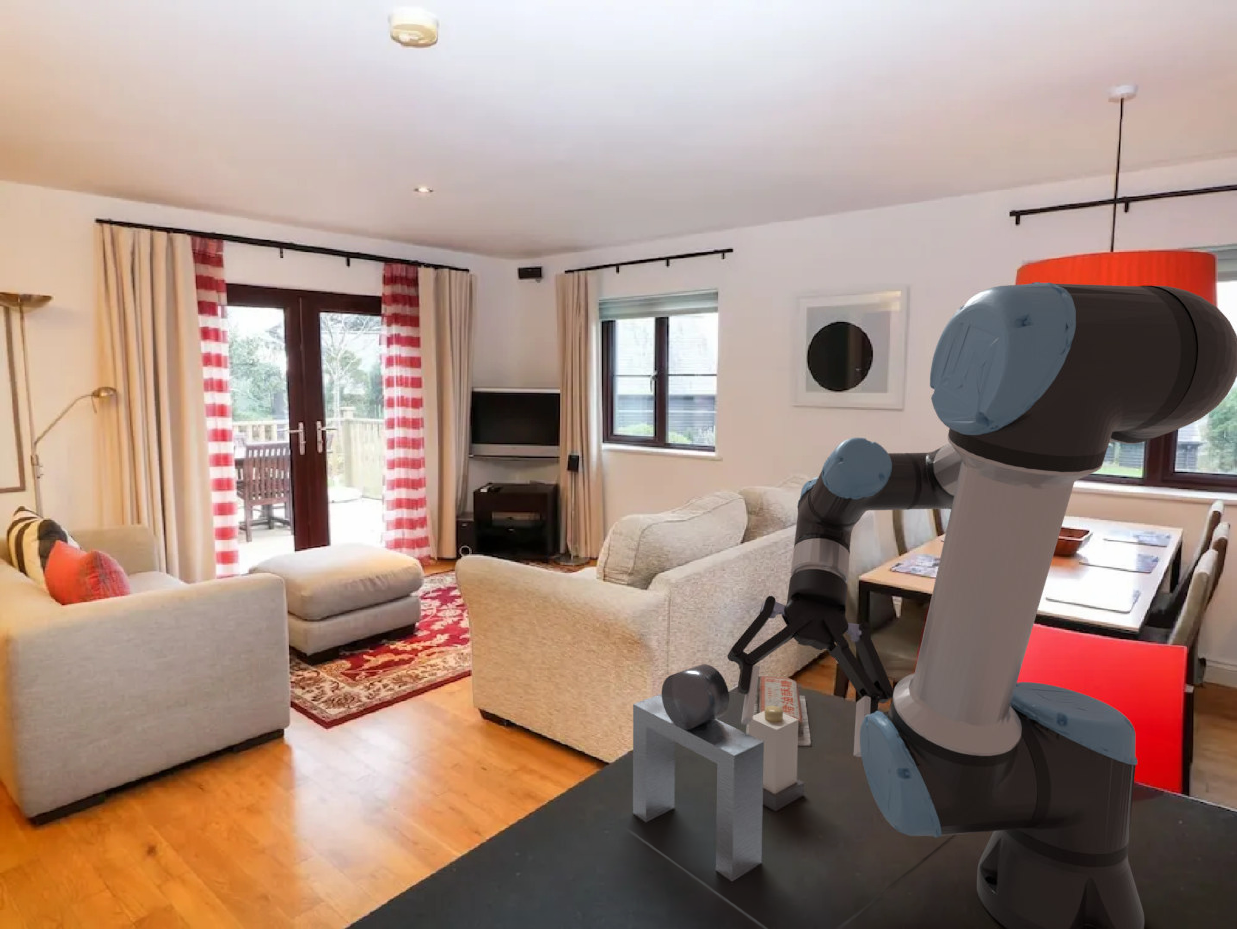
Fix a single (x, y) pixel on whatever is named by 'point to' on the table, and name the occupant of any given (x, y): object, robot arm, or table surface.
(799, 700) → the packaged product
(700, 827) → the table surface
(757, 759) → the grey metal arch
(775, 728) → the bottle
